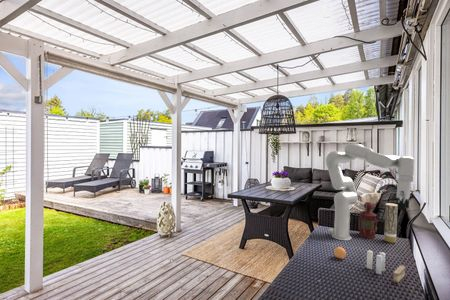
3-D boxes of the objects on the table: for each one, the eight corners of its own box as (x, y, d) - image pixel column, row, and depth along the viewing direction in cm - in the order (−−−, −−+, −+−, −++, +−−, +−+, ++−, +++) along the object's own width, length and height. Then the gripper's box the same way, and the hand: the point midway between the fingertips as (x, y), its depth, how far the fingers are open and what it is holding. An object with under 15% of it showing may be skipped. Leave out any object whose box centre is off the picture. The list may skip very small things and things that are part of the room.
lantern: (373, 240, 175) (374, 196, 175) (354, 235, 184) (356, 193, 184) (379, 236, 183) (381, 194, 183) (361, 232, 192) (363, 191, 192)
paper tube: (392, 243, 169) (393, 205, 169) (381, 240, 175) (383, 203, 175) (398, 242, 172) (399, 205, 172) (387, 239, 178) (389, 202, 178)
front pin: (365, 267, 132) (366, 251, 132) (367, 266, 133) (368, 250, 133) (371, 269, 130) (371, 252, 130) (372, 268, 132) (373, 251, 132)
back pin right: (375, 272, 126) (375, 255, 126) (376, 271, 128) (377, 254, 128) (380, 274, 125) (381, 257, 125) (382, 273, 126) (382, 256, 126)
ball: (331, 257, 143) (332, 246, 143) (336, 255, 147) (337, 244, 147) (343, 261, 138) (343, 250, 138) (347, 258, 143) (347, 247, 143)
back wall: (393, 281, 119) (393, 272, 119) (400, 273, 127) (400, 265, 127) (398, 282, 117) (398, 274, 117) (404, 274, 126) (405, 266, 126)
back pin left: (378, 270, 130) (379, 253, 130) (380, 268, 132) (380, 251, 131) (383, 271, 128) (384, 254, 128) (385, 270, 130) (386, 253, 130)
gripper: (400, 176, 154) (399, 205, 154) (393, 178, 142) (391, 209, 142) (415, 178, 149) (414, 208, 149) (409, 180, 137) (408, 212, 137)
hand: (403, 208), depth 146 cm, fingers open, 9 cm apart
